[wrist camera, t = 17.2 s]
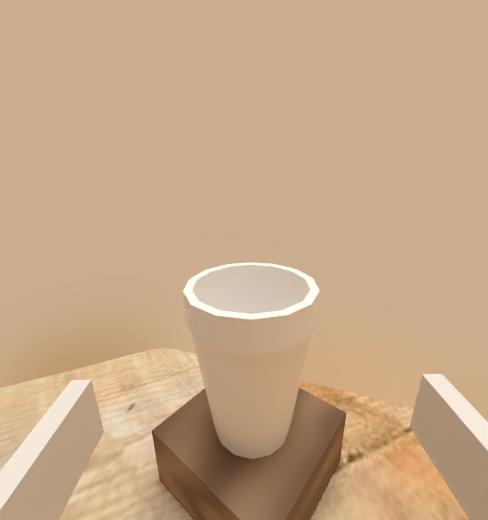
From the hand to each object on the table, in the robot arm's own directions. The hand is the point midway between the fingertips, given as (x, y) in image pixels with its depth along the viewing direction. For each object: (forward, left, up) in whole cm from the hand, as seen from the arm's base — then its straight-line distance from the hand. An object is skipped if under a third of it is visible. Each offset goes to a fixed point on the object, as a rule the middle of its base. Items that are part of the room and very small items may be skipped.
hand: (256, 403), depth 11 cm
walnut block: (-6, +7, -18) cm, 20 cm away
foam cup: (-6, +7, -12) cm, 15 cm away
